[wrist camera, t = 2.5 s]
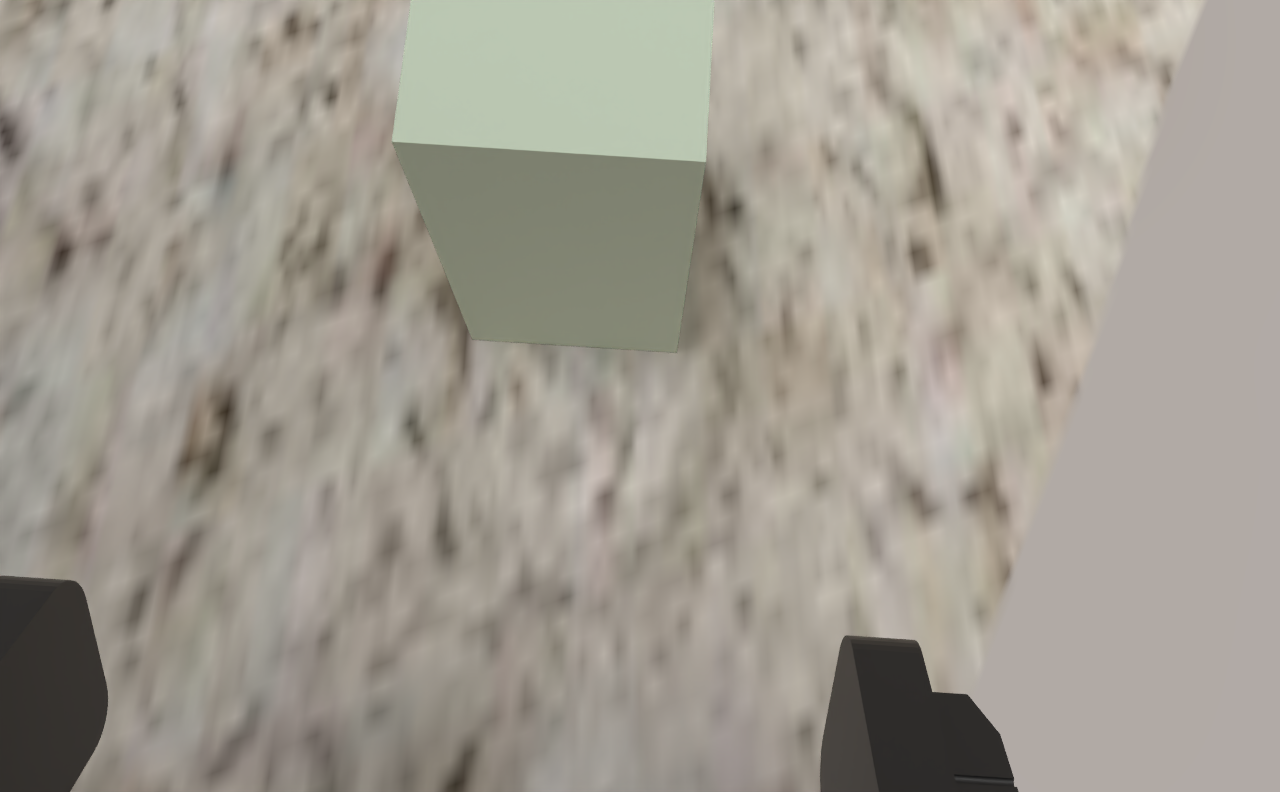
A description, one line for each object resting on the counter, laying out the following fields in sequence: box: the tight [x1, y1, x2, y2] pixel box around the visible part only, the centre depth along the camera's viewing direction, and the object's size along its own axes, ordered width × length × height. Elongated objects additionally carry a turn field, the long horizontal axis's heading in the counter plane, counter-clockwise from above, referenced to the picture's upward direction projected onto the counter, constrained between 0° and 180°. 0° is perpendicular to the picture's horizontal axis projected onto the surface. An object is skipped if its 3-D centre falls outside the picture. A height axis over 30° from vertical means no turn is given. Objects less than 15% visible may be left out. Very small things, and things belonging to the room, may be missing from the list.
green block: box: [392, 0, 714, 353], centre depth 23 cm, size 5×5×10 cm
